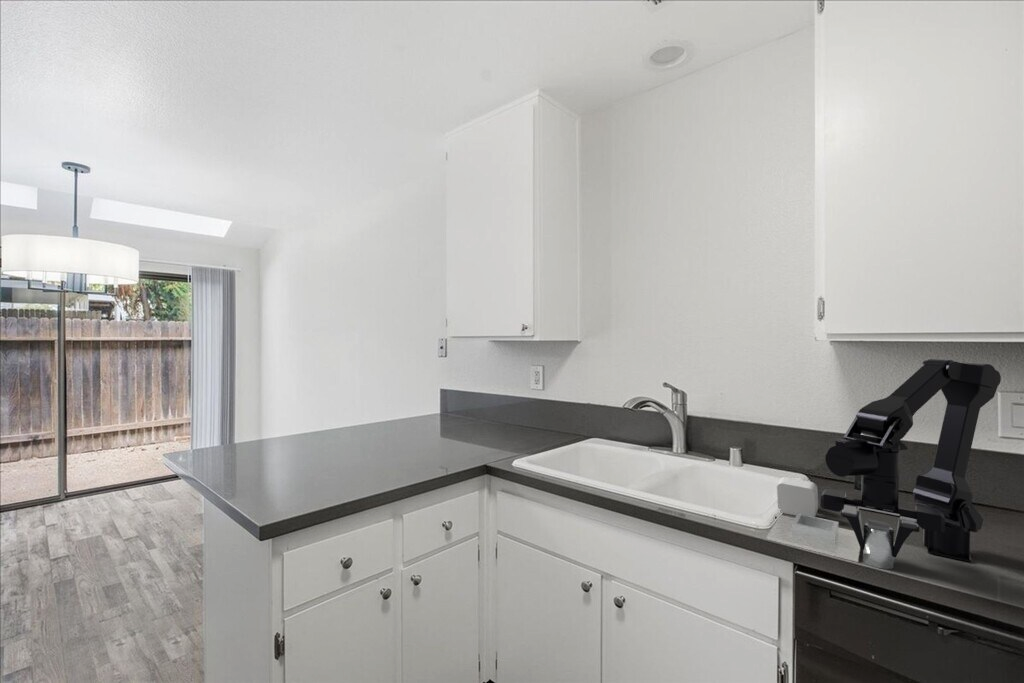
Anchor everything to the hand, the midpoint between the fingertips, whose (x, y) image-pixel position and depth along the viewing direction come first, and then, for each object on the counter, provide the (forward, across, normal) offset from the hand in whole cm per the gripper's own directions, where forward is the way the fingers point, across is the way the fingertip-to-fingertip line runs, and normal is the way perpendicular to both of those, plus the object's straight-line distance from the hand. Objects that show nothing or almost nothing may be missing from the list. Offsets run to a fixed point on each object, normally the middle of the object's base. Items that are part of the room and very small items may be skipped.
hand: (878, 552), depth 92 cm
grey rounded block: (+2, +16, -22) cm, 27 cm away
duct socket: (+2, +11, -6) cm, 13 cm away
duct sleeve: (+2, 0, 0) cm, 2 cm away
